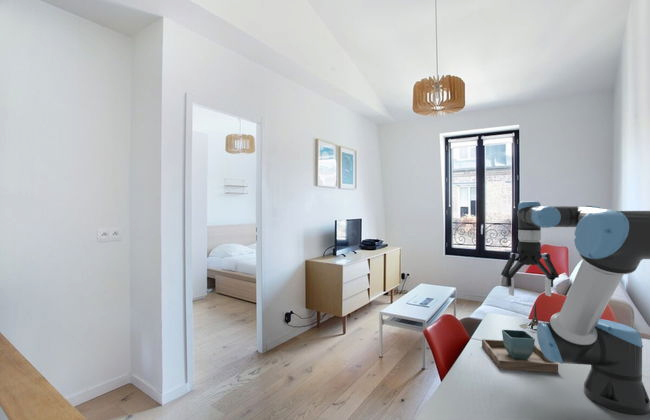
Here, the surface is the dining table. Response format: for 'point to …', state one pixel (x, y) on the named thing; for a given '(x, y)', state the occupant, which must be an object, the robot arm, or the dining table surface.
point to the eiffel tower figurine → (531, 321)
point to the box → (507, 362)
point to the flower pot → (518, 343)
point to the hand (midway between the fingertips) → (529, 295)
